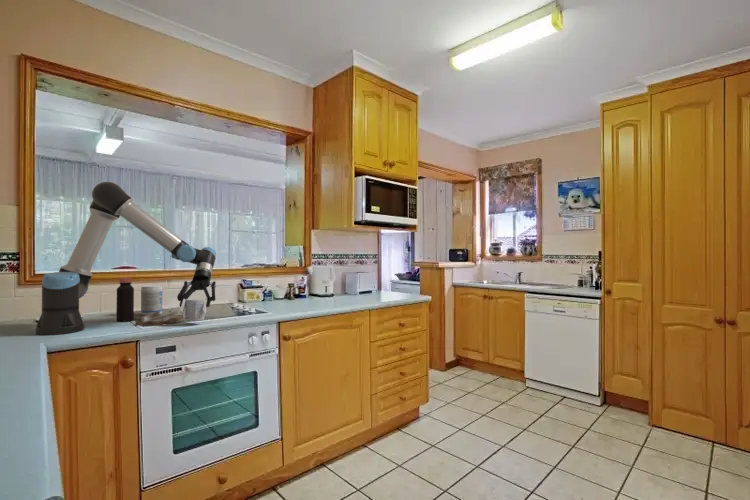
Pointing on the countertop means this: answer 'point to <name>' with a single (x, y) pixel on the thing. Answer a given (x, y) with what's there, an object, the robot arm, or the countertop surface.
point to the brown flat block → (159, 318)
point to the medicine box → (194, 310)
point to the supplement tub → (151, 299)
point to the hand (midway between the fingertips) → (192, 312)
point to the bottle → (125, 300)
